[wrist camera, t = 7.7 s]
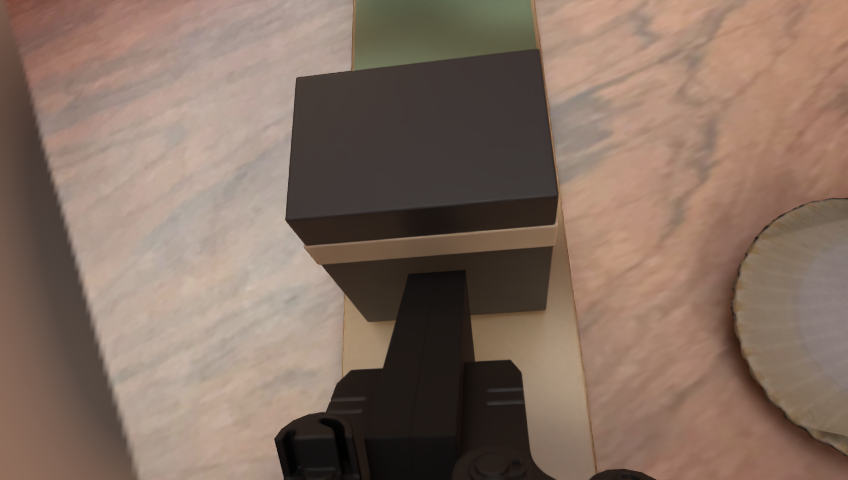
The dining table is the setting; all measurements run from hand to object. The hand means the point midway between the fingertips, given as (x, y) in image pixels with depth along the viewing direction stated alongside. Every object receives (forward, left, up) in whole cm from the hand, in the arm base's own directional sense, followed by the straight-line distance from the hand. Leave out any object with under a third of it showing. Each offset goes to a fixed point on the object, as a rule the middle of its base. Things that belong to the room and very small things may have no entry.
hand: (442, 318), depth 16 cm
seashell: (+13, -2, -6) cm, 14 cm away
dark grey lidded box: (+1, +3, -4) cm, 5 cm away
